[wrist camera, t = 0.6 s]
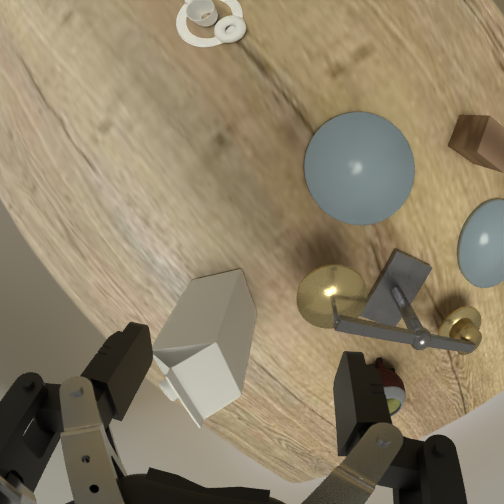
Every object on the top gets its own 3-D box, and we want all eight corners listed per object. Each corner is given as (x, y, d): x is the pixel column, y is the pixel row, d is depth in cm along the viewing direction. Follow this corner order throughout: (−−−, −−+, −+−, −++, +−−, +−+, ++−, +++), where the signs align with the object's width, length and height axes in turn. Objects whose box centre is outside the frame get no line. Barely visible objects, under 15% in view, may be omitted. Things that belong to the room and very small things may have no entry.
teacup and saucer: (257, 35, 29) (253, 25, 25) (195, 64, 31) (184, 58, 27) (226, -17, 26) (219, -31, 23) (168, 12, 28) (155, 2, 25)
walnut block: (459, 115, 29) (489, 115, 22) (483, 133, 29) (515, 138, 22) (447, 146, 31) (477, 152, 24) (472, 163, 31) (503, 172, 24)
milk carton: (241, 267, 40) (205, 373, 22) (257, 313, 42) (235, 426, 25) (191, 279, 41) (132, 378, 24) (209, 322, 44) (168, 428, 26)
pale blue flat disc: (329, 93, 30) (330, 92, 30) (427, 144, 31) (430, 144, 30) (286, 197, 36) (286, 199, 35) (383, 238, 36) (385, 241, 35)
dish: (483, 181, 31) (487, 183, 30) (533, 222, 32) (536, 224, 31) (441, 266, 36) (444, 270, 35) (495, 295, 37) (498, 298, 36)
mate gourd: (392, 384, 45) (411, 456, 31) (347, 388, 46) (356, 464, 32) (401, 351, 42) (428, 426, 28) (352, 355, 43) (367, 435, 30)
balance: (314, 213, 36) (327, 261, 23) (480, 290, 37) (525, 345, 24) (282, 283, 40) (277, 353, 27) (445, 342, 41) (476, 403, 28)
